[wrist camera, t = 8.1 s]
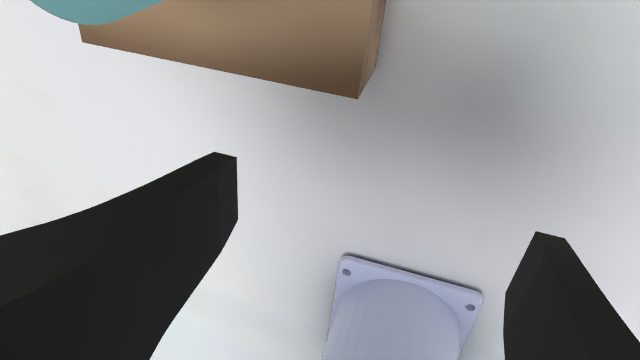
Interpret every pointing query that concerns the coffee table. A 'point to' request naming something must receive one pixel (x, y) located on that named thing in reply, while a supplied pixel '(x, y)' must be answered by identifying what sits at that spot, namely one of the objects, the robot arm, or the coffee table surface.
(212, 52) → the walnut block
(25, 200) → the coffee table surface
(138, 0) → the teal tin
